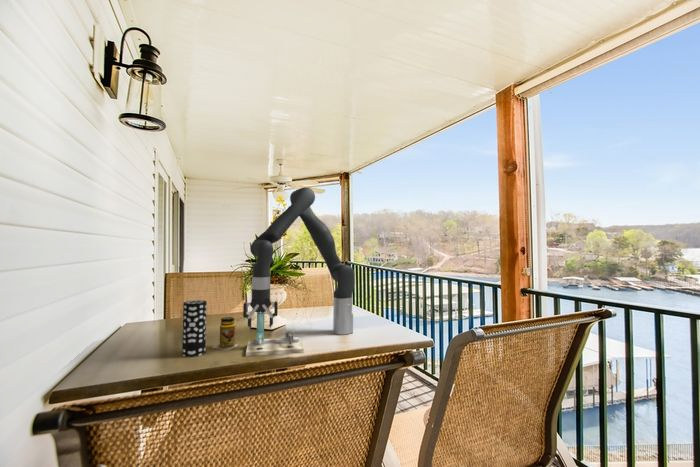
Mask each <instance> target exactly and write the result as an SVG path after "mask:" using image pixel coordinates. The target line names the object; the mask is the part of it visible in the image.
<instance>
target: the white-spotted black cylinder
mask: <svg viewBox="0 0 700 467" xmlns="http://www.w3.org/2000/svg"><path fill="white" fill-rule="evenodd" d="M207 305H208V303H207V301H206V300H198V299H197V300H187V301H183V304H182V307H183V309H182V310H183V311H182V338H181V339H182V343H181V344H182V345H181V355H182V356H183V357H186V358H192V357H193V358H194V357H200V356H203V355H205V354H206V346H207V345H206V343H207V341H206V340H207Z"/></svg>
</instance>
